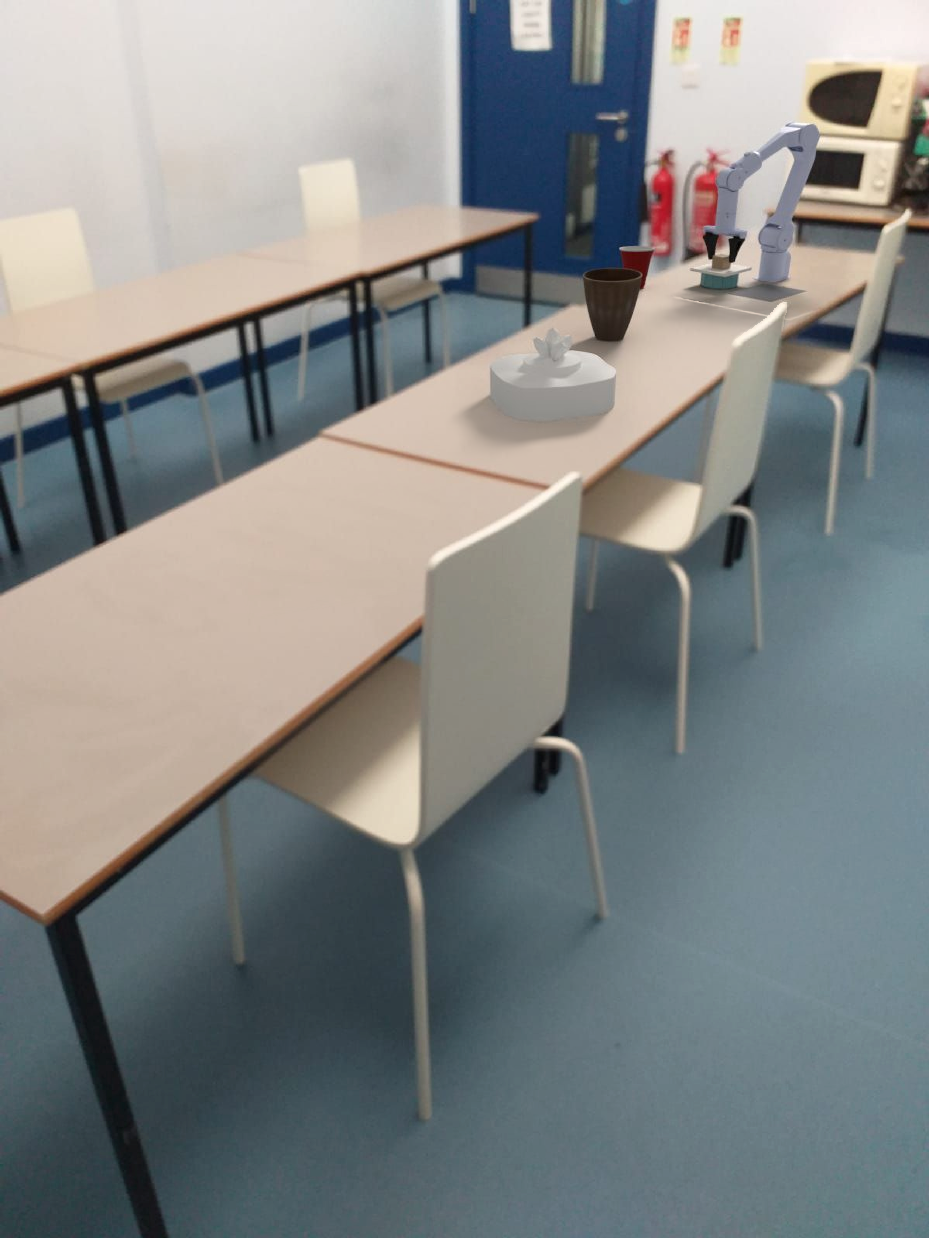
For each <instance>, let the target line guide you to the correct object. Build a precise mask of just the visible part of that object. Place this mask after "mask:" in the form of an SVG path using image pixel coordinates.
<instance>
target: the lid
mask: <svg viewBox="0 0 929 1238" xmlns="http://www.w3.org/2000/svg"><path fill="white" fill-rule="evenodd" d="M752 268H753V267H752V266H748V265H747V266H746V265H739V264H734V263H729V254H724V253H718V254H715V255H714V256H713V258H712V259H711V262H710V263H706V264H701V265H697V266H694V267H690V269H689V271H690V272H694V273H699V274H701V273H705V274H711V275H716V276H722V277H727V276H731V275H735V274H738V273H739V274H742V273H745V272H748V271H749V272H750V271H752Z"/></svg>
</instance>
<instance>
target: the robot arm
mask: <svg viewBox="0 0 929 1238" xmlns="http://www.w3.org/2000/svg"><path fill="white" fill-rule="evenodd" d="M820 138H821V133H820V131H819V128H818V127H817V125H816V124H814V123H804V122H803V123H801V122H795V121H789V122H787V123H786V124H785V125H784V126H781V127H780V128H779V130H778V132H777V133H775V135H773V137H771V138H770V139H769V140H768V141H767V142H766V143H764V144H763V145H762V146H761V147H760V148H758V150H756V151H754V150H753V151H752V150H750V151H745V152H744V153H743V156H742V157H741V158H740V159H738V160H737V161H735V162H732V163H731V164H730V166H729V167H725V168H723V169H721V170H720V171H719V172H718V174H717V177H716V178H715V179H714V182H715V186H716V187H717V194H718V195H717V205H716V214H715V225H704V226H702V234H703V235H702V239H703V242H704V244H705V247H706V251H707V258H708V260H711V261H712V258H713V256H714V255H716V249H717V244H718V240H719V237H720V236H725V237H731V238H728V239H727V240H728V248H729V254H728V255H729V263H731V264H734V263H736V259H737V256H738V254H739V251H740V249H741V247H742V246H743V244H744V242H746V238H747V234H748V230H744V229H740V228H736V227H735V226H736V218H737V209H738V202H739V201H738V200H739V199H738V198H739V193H740V192H739V191H740V190H741V188H742V187H743V186H744V183H745V182H746V180H747V179H749V178H750V177H751V176H753V175H754V174H756V172H758V171H759V170H760V169H761V168H762V166H763V162H764V161H767V159H769V158H771V157H772V156H773V155H774V154H777V153H778V152H780V151H781V150H782V149H783V148H787V149H788V150H789V152H790V153H791V154H792V158H793V159H794V161H793V163H792V166H791V167H790V168H791V169H790V171H789V174H788V176H787V179H786V181H785V183H784V186H783V190H782V192H781V194H780V197H779V200H778V203H777V205H776V208H775V211H774V213H773V214H772V215H771V216H769V218H767V219H766V220H765V222H764V225H763V226H762V228H761V229H760V230H759V232H758V235H757V241H758V244H759V245H760V249H761V254H760V260H759V269H758V276H756V277H752V280H756V281H763V282H767V283H768V282H769V283H777V282H780V281H784V280H787V279H790V278H792V277H791V276H789V275H790V266H791V262H792V261H791V260H792V259H791V258H792V256H791V253H790V250H789V248H790V247H791V245H792V243H793V240H794V231H795V229H796V227H795V224H794V222H793V220H792V219H793V216H794V213H795V212H796V208H797V206H798V204H799V201H800V199H801V196H802V194H803V191H804V188H805V186H806V183H807V180H808V178H809V175H810V173H811V170H812V167H813V165H814V162H815V159H816V154H817V146H818V143H819V140H820Z"/></svg>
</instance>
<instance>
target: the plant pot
mask: <svg viewBox="0 0 929 1238" xmlns="http://www.w3.org/2000/svg"><path fill="white" fill-rule="evenodd" d="M641 280H642V273H641V272H639V271H636V270H632V269H624V268H623V267H622V268H621V267H620V268H619V267H605V268H596V269H590V270H587V271H585V272H584V273H583V274H582V281H583V289H584V297H585V303H586V308H587V313H588V317H589V321H590V325H591V329H592V332H593V334H594V337H595V339H597V340H599V341H601V342H602V341H603V342H618V341H621V340H623V339H624V338H625V336H626V333H627V331H628V328H629V326H630V323H631V320H632V317H633V315H634V312H635V309H636V307H637V301H638V297H639V293H640V290H641V289H640V285H641Z"/></svg>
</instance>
